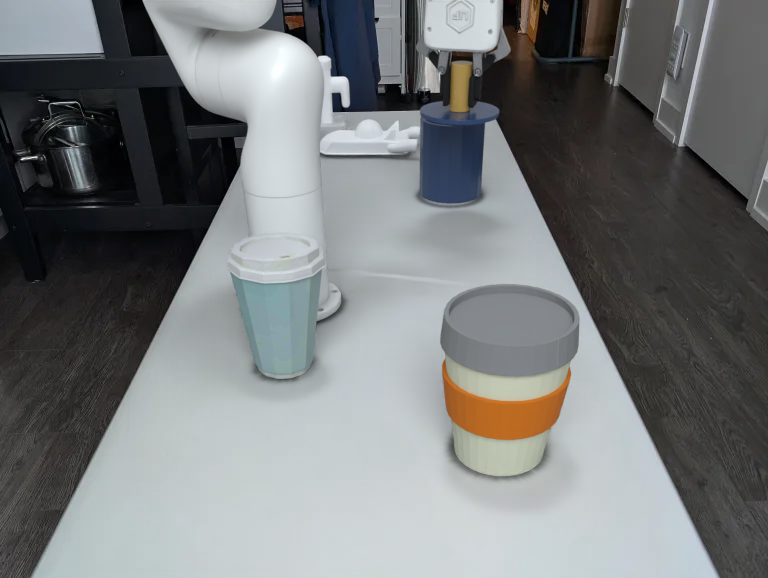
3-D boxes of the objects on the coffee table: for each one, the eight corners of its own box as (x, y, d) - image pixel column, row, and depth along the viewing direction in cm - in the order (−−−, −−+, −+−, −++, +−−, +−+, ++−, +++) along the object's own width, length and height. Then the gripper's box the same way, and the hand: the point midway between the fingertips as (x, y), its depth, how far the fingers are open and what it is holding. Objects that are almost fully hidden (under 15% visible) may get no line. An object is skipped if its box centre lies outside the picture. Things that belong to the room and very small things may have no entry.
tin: (474, 209, 131) (478, 128, 123) (412, 203, 134) (413, 123, 126) (486, 188, 139) (491, 110, 131) (427, 183, 141) (428, 106, 133)
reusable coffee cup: (457, 405, 87) (464, 275, 77) (572, 427, 83) (594, 293, 74) (419, 471, 78) (421, 334, 68) (546, 499, 75) (566, 358, 65)
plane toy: (321, 142, 160) (319, 111, 157) (421, 144, 158) (421, 112, 155) (312, 159, 153) (310, 126, 149) (416, 161, 151) (417, 128, 147)
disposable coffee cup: (232, 353, 97) (213, 231, 87) (317, 336, 99) (308, 216, 90) (254, 397, 89) (235, 269, 79) (345, 378, 92) (338, 252, 82)
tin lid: (490, 132, 110) (495, 73, 105) (411, 126, 112) (411, 69, 108) (504, 111, 118) (509, 56, 114) (430, 106, 121) (431, 52, 116)
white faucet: (352, 145, 159) (348, 60, 149) (304, 147, 158) (298, 62, 149) (350, 134, 164) (347, 52, 155) (305, 136, 164) (298, 54, 154)
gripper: (398, -50, 101) (397, 107, 113) (526, -47, 98) (512, 115, 110) (413, -56, 107) (411, 95, 119) (535, -53, 103) (520, 102, 115)
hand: (460, 103), depth 114 cm, fingers closed on tin lid, 3 cm apart
